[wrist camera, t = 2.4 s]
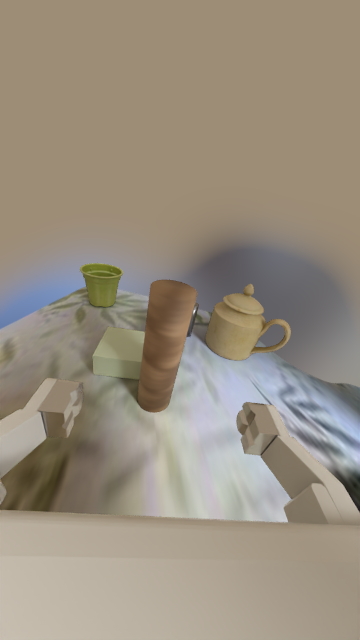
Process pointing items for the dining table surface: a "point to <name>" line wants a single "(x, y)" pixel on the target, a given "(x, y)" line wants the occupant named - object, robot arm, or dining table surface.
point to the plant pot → (101, 283)
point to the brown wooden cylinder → (164, 341)
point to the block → (119, 353)
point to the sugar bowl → (240, 327)
